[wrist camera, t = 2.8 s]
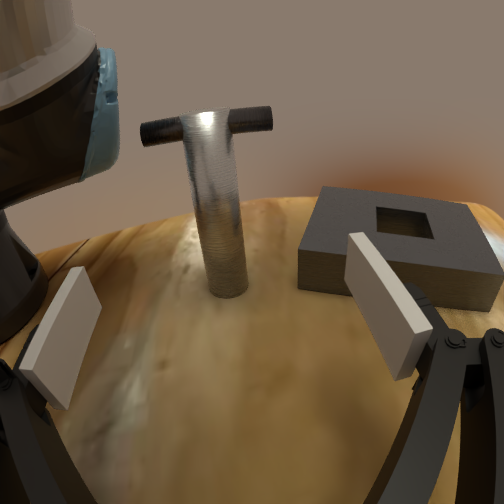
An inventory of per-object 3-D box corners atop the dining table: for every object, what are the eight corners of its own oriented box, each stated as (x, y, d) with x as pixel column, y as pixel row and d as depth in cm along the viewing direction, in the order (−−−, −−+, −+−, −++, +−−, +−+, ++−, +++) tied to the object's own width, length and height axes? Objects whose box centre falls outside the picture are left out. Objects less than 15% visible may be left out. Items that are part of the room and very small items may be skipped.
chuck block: (297, 288, 26) (298, 249, 24) (322, 216, 37) (322, 186, 35) (489, 311, 20) (505, 275, 18) (459, 234, 31) (466, 204, 29)
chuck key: (177, 303, 26) (135, 125, 18) (181, 278, 29) (147, 118, 21) (282, 291, 26) (273, 106, 18) (275, 267, 29) (266, 102, 21)
